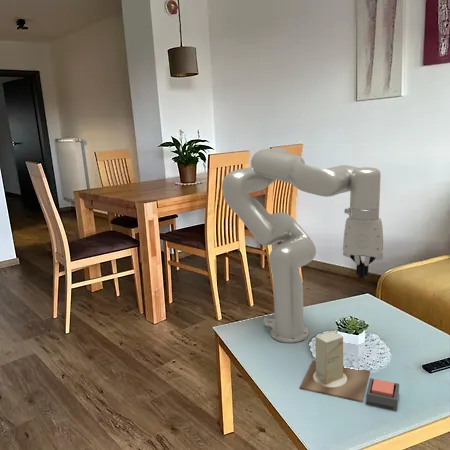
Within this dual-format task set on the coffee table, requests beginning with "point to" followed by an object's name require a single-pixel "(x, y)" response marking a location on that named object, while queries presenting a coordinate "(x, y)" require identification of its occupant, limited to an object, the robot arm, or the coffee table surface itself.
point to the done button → (383, 388)
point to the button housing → (382, 398)
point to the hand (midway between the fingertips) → (362, 277)
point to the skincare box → (329, 357)
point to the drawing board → (338, 383)
